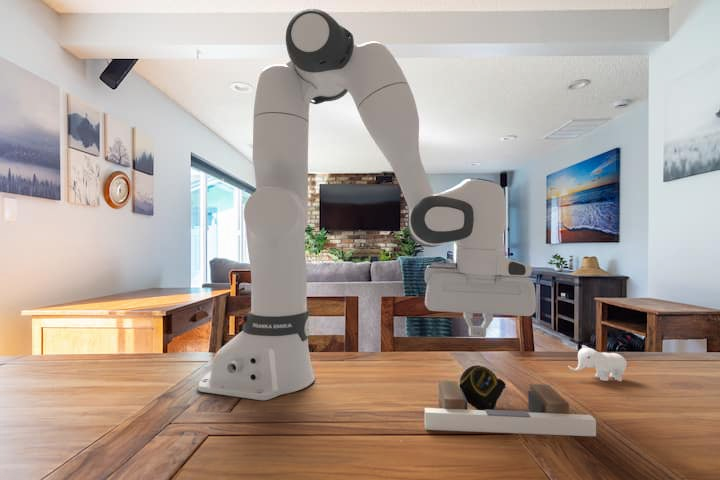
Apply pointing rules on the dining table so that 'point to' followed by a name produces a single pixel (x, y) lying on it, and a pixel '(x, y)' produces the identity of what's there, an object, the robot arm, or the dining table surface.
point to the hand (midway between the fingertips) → (477, 336)
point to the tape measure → (481, 387)
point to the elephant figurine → (601, 363)
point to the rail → (508, 414)
